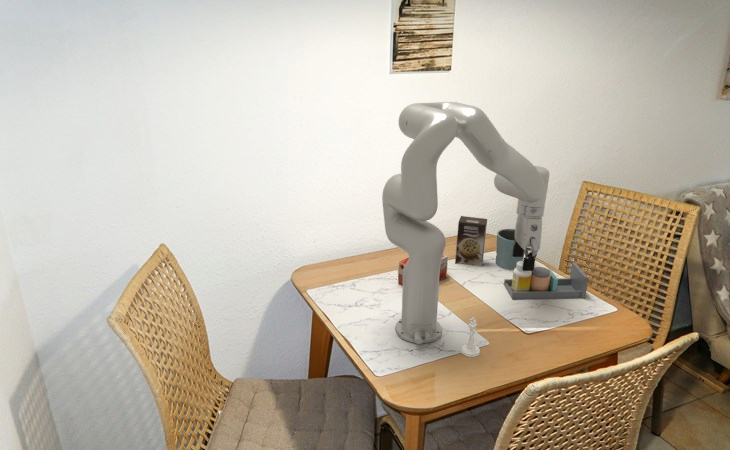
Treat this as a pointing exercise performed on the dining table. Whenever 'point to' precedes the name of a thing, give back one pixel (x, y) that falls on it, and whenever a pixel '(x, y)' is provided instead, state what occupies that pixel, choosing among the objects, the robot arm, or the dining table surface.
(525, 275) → the supplement bottle
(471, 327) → the chess piece
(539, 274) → the jar
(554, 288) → the plate
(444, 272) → the medicine box
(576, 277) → the lane
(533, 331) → the dining table surface
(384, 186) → the robot arm
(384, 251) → the dining table surface
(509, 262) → the teal cup
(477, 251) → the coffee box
